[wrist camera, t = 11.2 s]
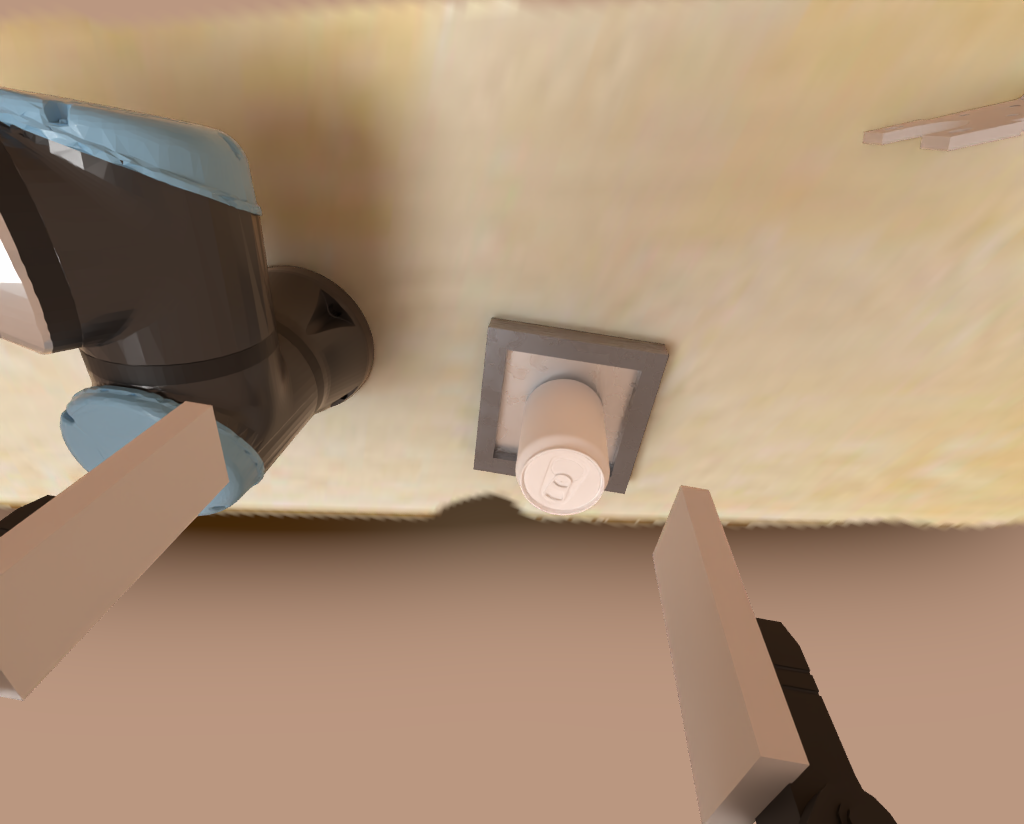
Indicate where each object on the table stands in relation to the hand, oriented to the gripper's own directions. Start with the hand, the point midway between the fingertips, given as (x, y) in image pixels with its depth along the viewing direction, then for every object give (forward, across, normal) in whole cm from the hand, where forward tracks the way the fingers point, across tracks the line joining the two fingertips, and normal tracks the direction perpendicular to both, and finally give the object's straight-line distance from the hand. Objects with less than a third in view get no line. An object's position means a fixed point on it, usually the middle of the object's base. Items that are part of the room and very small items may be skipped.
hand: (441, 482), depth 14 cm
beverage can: (+34, +6, -17) cm, 38 cm away
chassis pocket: (+35, +6, -17) cm, 39 cm away
